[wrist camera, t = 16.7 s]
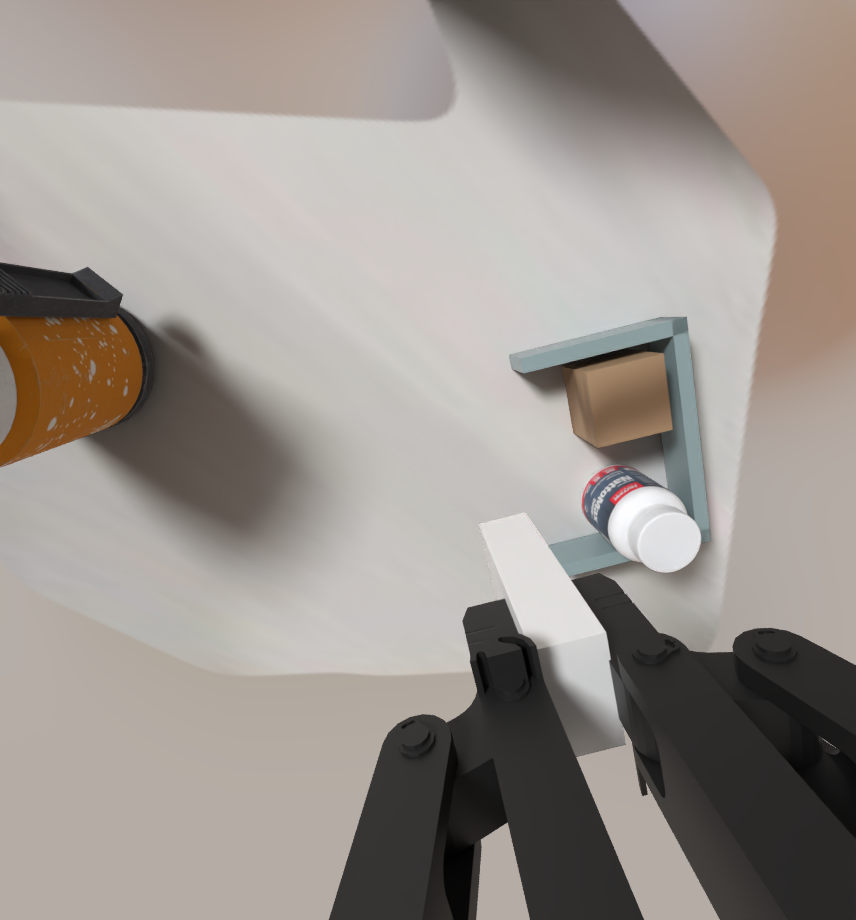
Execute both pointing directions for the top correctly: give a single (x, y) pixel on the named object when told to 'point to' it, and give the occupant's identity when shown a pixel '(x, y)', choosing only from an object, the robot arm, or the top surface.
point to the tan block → (618, 397)
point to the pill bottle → (640, 518)
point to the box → (677, 443)
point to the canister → (65, 359)
